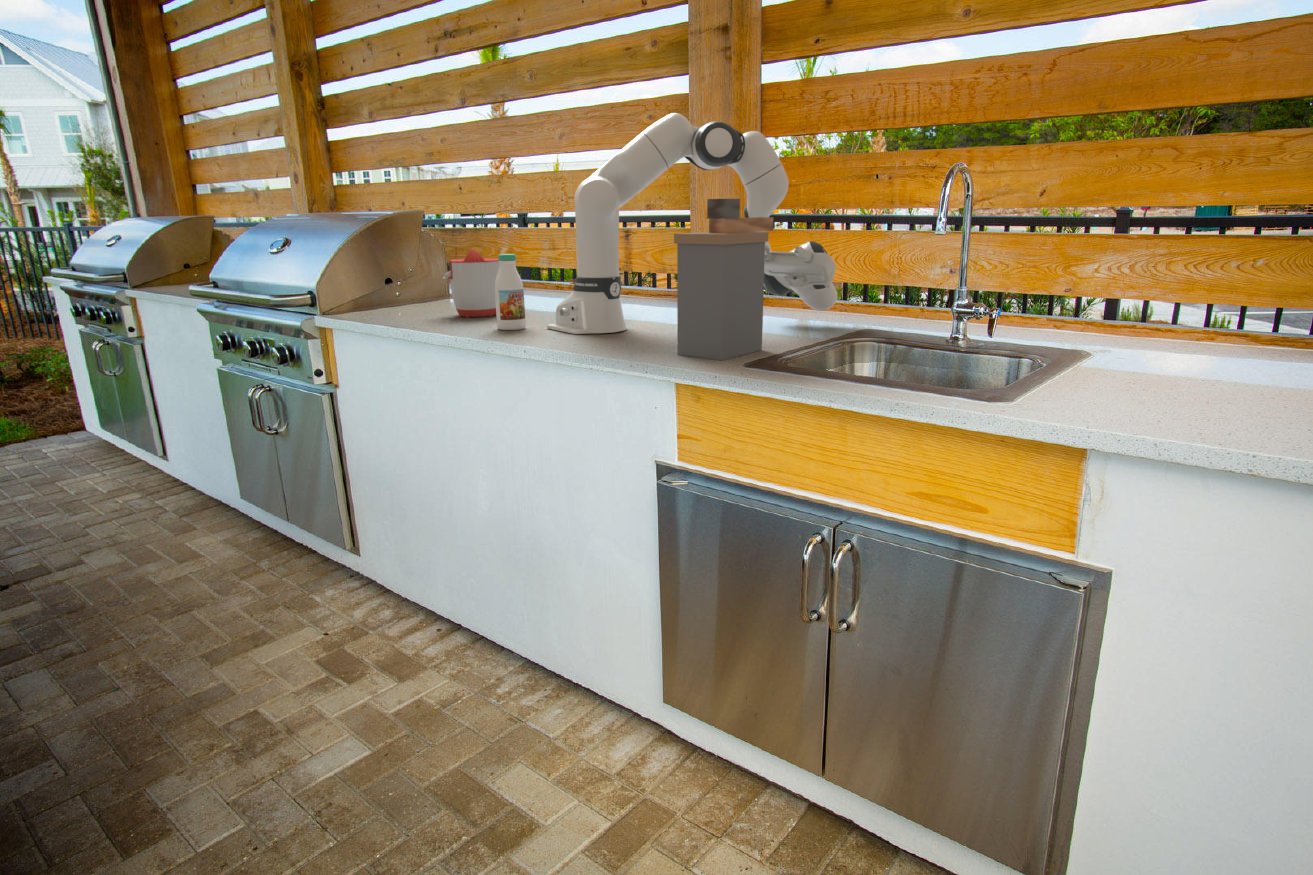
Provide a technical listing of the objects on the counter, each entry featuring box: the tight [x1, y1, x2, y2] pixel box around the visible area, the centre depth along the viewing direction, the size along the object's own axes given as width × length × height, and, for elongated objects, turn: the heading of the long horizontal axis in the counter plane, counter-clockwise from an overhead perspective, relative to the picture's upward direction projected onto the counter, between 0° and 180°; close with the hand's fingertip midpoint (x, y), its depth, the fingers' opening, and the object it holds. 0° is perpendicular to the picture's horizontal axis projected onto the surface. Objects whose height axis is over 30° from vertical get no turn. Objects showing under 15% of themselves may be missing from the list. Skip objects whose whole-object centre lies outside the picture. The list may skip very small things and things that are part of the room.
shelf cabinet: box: [673, 231, 770, 361], centre depth 169 cm, size 13×17×26 cm
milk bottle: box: [495, 253, 527, 331], centre depth 208 cm, size 8×8×20 cm
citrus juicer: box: [442, 249, 500, 319], centre depth 235 cm, size 16×17×20 cm
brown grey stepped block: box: [706, 198, 774, 233], centre depth 170 cm, size 5×20×7 cm, turn 141°
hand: (780, 248), depth 185 cm, fingers open, 8 cm apart
